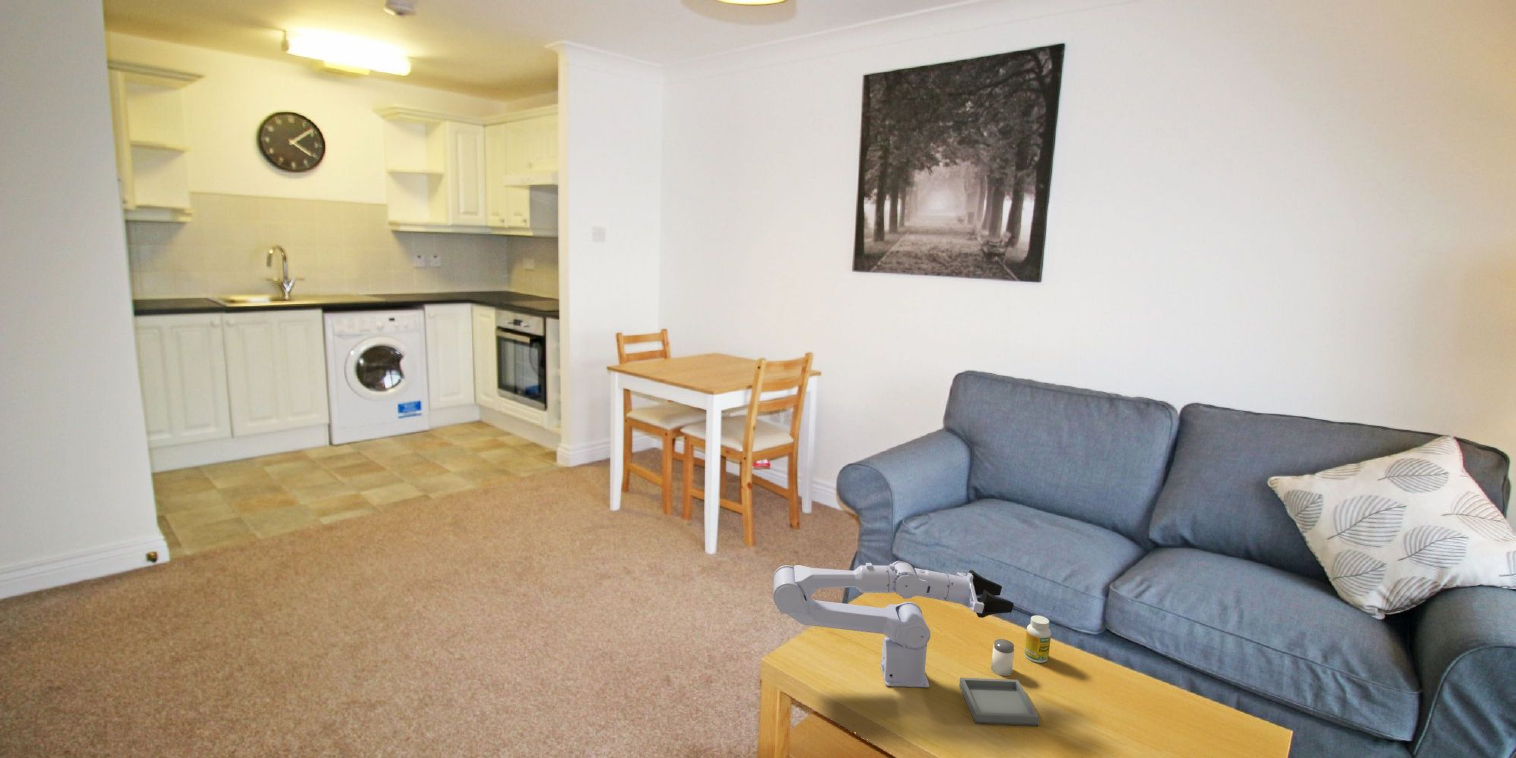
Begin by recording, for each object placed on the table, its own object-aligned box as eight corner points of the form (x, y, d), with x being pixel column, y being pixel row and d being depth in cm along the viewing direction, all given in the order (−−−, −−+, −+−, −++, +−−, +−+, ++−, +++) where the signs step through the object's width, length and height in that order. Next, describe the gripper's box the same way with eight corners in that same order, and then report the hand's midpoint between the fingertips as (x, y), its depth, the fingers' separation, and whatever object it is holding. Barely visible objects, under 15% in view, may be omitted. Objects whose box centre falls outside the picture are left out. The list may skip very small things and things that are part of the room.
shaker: (994, 675, 162) (997, 649, 161) (988, 664, 166) (991, 638, 165) (1014, 676, 162) (1017, 649, 161) (1008, 664, 166) (1010, 639, 165)
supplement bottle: (1033, 648, 173) (1037, 611, 172) (1053, 659, 169) (1057, 621, 167) (1019, 654, 170) (1023, 617, 169) (1038, 666, 166) (1043, 627, 164)
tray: (975, 723, 145) (976, 714, 145) (959, 685, 157) (959, 677, 157) (1038, 725, 145) (1039, 717, 145) (1017, 688, 157) (1018, 679, 157)
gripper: (958, 585, 148) (1022, 598, 149) (941, 555, 163) (1000, 567, 163) (949, 617, 150) (1013, 629, 150) (934, 584, 164) (992, 595, 164)
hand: (1006, 598), depth 156 cm, fingers open, 7 cm apart
